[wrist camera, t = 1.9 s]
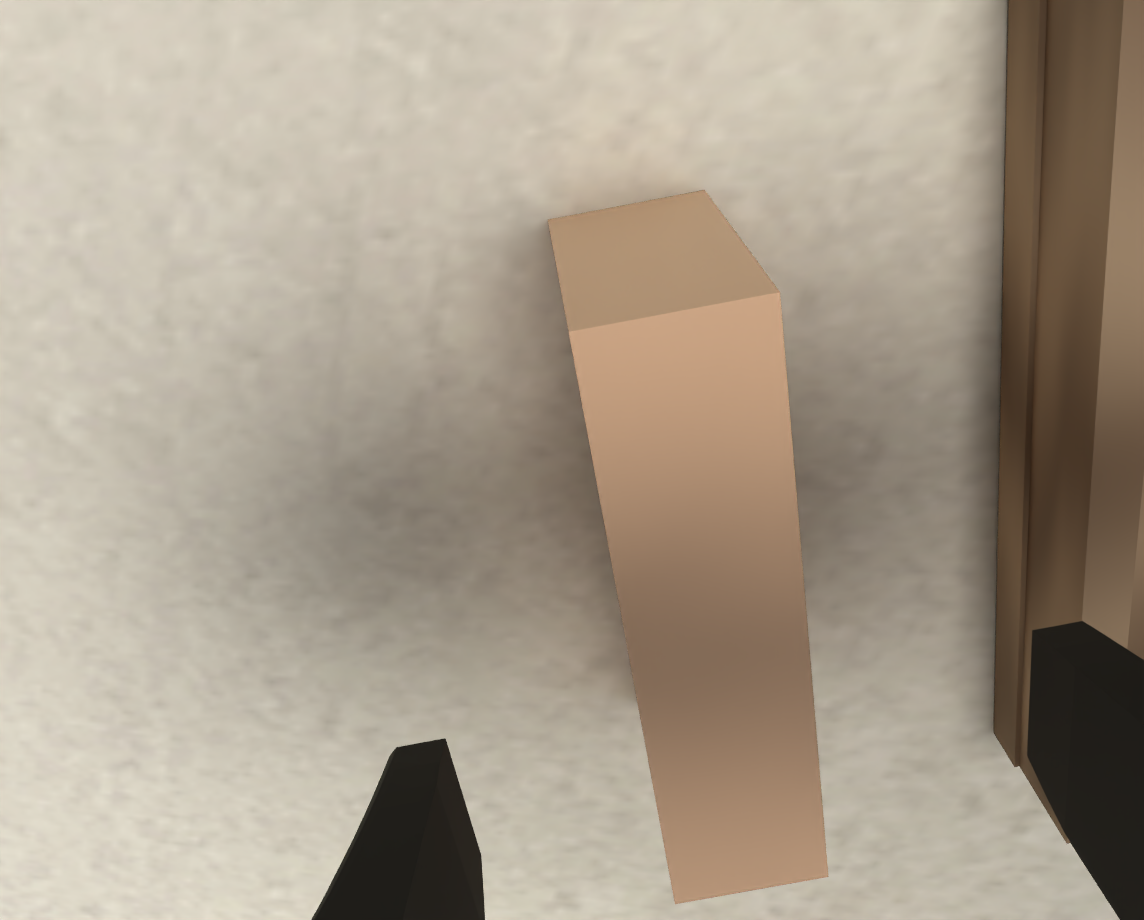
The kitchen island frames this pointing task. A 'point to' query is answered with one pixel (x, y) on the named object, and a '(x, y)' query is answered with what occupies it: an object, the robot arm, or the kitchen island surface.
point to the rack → (1070, 341)
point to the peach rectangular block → (701, 532)
